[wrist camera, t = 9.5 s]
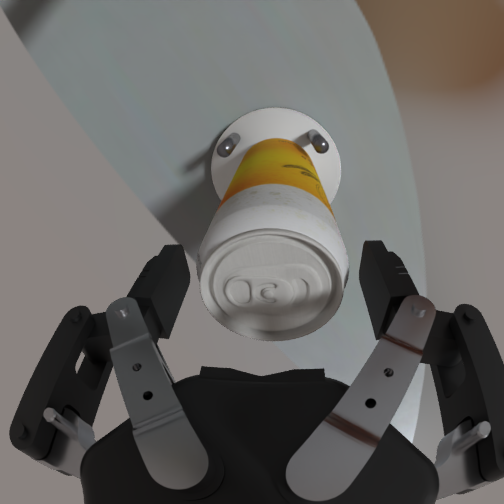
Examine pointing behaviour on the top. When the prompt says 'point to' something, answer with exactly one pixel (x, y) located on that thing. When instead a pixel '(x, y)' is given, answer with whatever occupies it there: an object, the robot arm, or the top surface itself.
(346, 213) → the top surface
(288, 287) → the beer can
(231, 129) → the pin tray
